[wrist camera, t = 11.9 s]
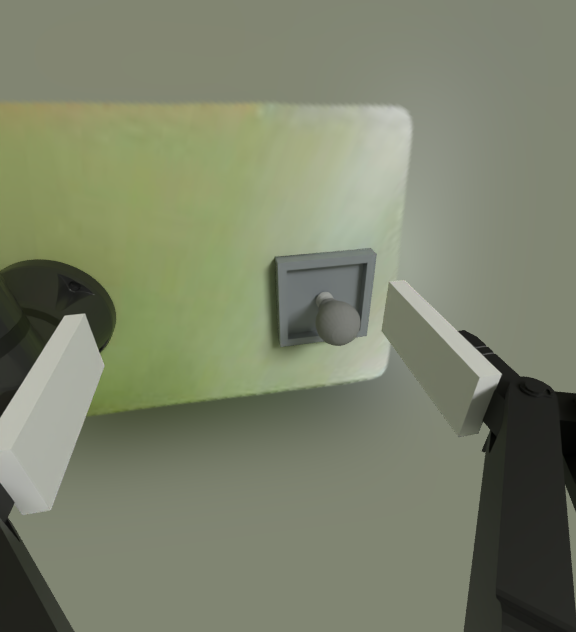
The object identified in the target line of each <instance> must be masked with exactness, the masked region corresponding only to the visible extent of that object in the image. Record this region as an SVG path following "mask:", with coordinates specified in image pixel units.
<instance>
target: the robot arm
mask: <svg viewBox="0 0 576 632" xmlns="http://www.w3.org/2000/svg"><path fill="white" fill-rule="evenodd" d="M115 324H116V312H115V308H114V304H113V302H112V300H111V298H110V296H109V295H108V293H107V292H106V290H105V289H104V288H103V287H102V286H101V285H100V284H99V283H98V282H97V281H96V280H95V279H94V278H92V277H91V276H90V275H88V274H87V273H85V272H83V271H81V270H79V269H77V268H75V267H73V266H70V265H68V264H64V263H61V262H56V261H51V260H27V261H22V262H18V263H15V264H12V265H10V266H8V267H6V268H4V269H3V270H1V271H0V632H74V631H73V629H72V627H71V625H70V623H69V621H68V620H67V618H66V616H65V615H64V613H63V611H62V610H61V608H60V606H59V604H58V602H57V601H56V599H55V597H54V595H53V594H52V592H51V590H50V588H49V587H48V585H47V583H46V582H45V580H44V578H43V576H42V575H41V573H40V571H39V569H38V568H37V566H36V564H35V562H34V561H33V559H32V557H31V555H30V554H29V552H28V550H27V548H26V547H25V545H24V543H23V542H22V540H21V538H20V536H19V535H18V533H17V531H16V529H15V528H14V526H13V524H12V523H11V521H10V520H9V519H8V515H9V514H10V511H11V509H12V507H13V505H14V504H15V506H16V507H17V508H18V510H19V511H20V512H21V514H22V515H26V514H31V513H37V512H43V511H48V510H51V509H52V506H53V503H54V501H55V498H56V495H57V492H58V490H59V487H60V484H61V482H62V479H63V476H64V474H65V471H66V468H67V466H68V463H69V460H70V457H71V454H72V452H73V449H74V447H75V444H76V441H77V439H78V436H79V433H80V430H81V428H82V425H83V422H84V420H85V417H86V414H87V412H88V409H89V406H90V404H91V401H92V398H93V395H94V393H95V390H96V387H97V385H98V382H99V379H100V377H101V374H102V371H103V369H104V363H103V361H102V358H101V355H100V352H101V351H102V350H103V349H104V348H105V347H106V346H107V344H108V342H109V341H110V338H111V336H112V334H113V331H114V328H115ZM382 332H383V333H384V335H385V336H386V338H387V339H388V340H389V342H390V343H391V345H392V346H393V347H394V349H395V350H396V351H397V353H398V354H399V356H400V357H401V358H402V360H403V361H404V362H405V364H406V365H407V366H408V368H409V369H410V370H411V372H412V373H413V375H414V376H415V378H416V379H417V381H418V382H419V383H420V384H421V386H422V387H423V389H424V390H425V391H426V393H427V394H428V396H429V397H430V399H431V400H432V401H433V403H434V404H435V405H436V407H437V408H438V410H439V411H440V412H441V414H442V415H443V416H444V418H445V419H446V421H447V422H448V423H449V425H450V426H451V427H452V429H453V430H454V432H455V433H456V434H457V436H458V437H462V436H467V435H473V434H478V433H479V431H480V428H481V425H482V423H483V422H484V423H485V424H486V425H487V426H488V428H489V429H490V432H489V435H488V437H487V439H486V442H485V444H484V446H483V449H482V451H483V452H486V453H485V454H486V455H485V462H484V470H483V478H482V486H481V494H480V503H479V511H478V519H477V527H476V536H475V543H474V552H473V560H472V568H471V576H470V584H469V592H468V601H467V609H466V617H465V625H464V632H576V610H575V600H574V599H575V598H574V586H573V574H572V563H571V551H570V541H569V540H570V539H569V527H568V516H567V504H566V494H565V493H566V492H565V485H566V488H567V490H568V493H569V495H570V498H571V501H572V503H573V506H574V508H575V510H576V393H565V392H555V391H554V390H553V389H552V388H551V387H550V386H548V385H547V384H545V383H544V382H542V381H539V380H537V379H534V378H530V377H520V376H519V375H518V374H517V373H516V372H515V371H514V370H512V369H511V368H510V367H509V366H508V365H507V364H506V363H505V362H504V361H503V360H502V359H501V358H500V357H498V356H497V355H496V354H494V353H493V351H492V350H491V349H490V348H489V347H486V345H485V344H484V343H483V342H482V341H481V340H480V339H479V338H478V337H476V336H474V335H473V334H470V333H469V332H467V331H465V330H462V331H457V330H456V329H455V328H454V327H453V326H452V325H451V324H450V323H449V322H447V320H445V319H444V318H443V317H442V316H441V315H440V314H439V313H438V312H437V311H436V310H435V309H434V308H433V307H432V306H431V305H430V304H429V303H428V302H427V301H426V300H425V299H424V298H423V297H422V296H421V295H420V294H418V292H416V291H415V290H414V289H413V288H412V287H411V286H410V285H409V284H408V283H407V282H406V281H405V280H400V281H390V282H389V285H388V292H387V298H386V305H385V312H384V318H383V325H382Z"/></svg>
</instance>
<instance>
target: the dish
mask: <svg viewBox="0 0 576 632" xmlns="http://www.w3.org/2000/svg"><path fill="white" fill-rule="evenodd" d="M376 256H377V254H376V253H375V252H374V251H373V250H372V249H371V248H368V249H357V250H346V251H335V252H323V253H312V254H301V255H290V256H279V257H275V267H276V293H277V320H278V340H279V343H280V347H284V346H291V345H299V344H307V343H315V342H323V340H322V339H321V338H320V337H319V335H318V333H317V330H316V322H315V321H316V316H317V314H318V306H317V304H316V298H317V296H318V295H319V294H320V293H322V292H329V293H330V294H331V295H332V296H333V298H334V299H336V300H337V301H342V302H346V303H348V304H350V305H351V306H353V307H354V308H355V309H356V311H357V312H358V314H359V316H360V329H359V332H358V334H357V336H356V337H362V336H367V329H368V321H369V313H370V304H371V296H372V288H373V280H374V272H375V264H376Z"/></svg>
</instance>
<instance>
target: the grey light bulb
mask: <svg viewBox="0 0 576 632" xmlns="http://www.w3.org/2000/svg"><path fill="white" fill-rule="evenodd" d="M316 304H317V306H318V314H317V316H316V321H315V322H316V330H317V333H318V335H319V337H320V338H321V339H322V340H323V341H325V342H326V343H328V344H331V345H336V346H341V345H345V344H347V343H349V342H351V341H352V340H353V339H354V338H355V337H356V336H357V334H358V332H359V329H360V316H359V314H358V312H357V311H356V309H355V308H354V307H353V306H351V305H350V304H348V303H346V302H342V301H337V300H336V299H334V298H333V296H332V295H331V294H330V293H329V292H322V293H320V294H319V295H318V296H317V298H316Z"/></svg>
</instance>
